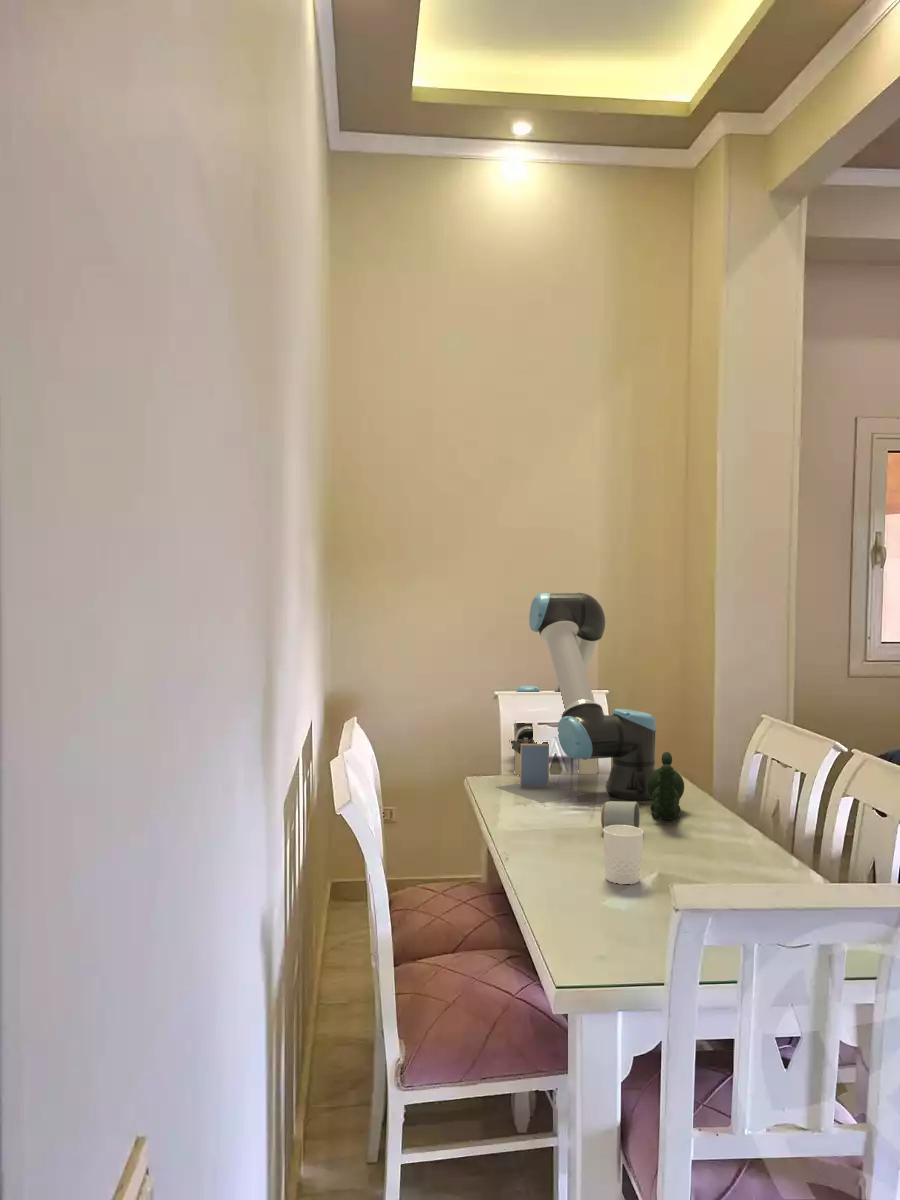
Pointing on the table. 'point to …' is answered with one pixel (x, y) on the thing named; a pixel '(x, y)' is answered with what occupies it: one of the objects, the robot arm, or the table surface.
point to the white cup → (622, 853)
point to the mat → (542, 792)
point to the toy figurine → (665, 790)
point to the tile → (534, 765)
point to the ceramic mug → (620, 814)
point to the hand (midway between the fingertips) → (532, 755)
